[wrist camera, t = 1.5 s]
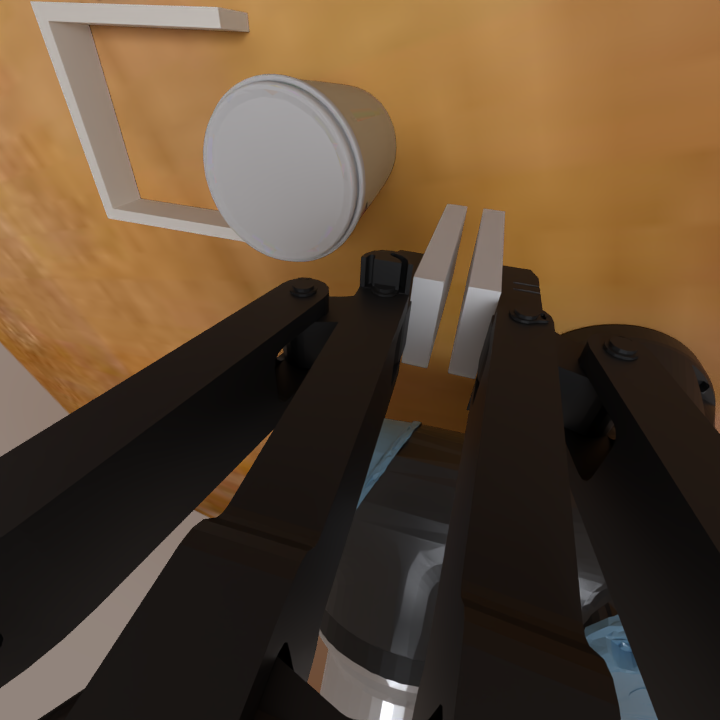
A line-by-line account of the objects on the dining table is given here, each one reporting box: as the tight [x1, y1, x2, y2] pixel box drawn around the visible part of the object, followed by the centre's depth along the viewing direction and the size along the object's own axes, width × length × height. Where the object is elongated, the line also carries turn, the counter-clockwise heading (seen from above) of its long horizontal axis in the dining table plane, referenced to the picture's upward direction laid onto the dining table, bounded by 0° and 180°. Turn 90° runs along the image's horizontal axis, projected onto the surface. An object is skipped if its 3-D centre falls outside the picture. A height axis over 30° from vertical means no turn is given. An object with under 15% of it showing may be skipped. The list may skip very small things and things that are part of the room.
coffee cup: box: [203, 74, 396, 262], centre depth 25 cm, size 9×9×12 cm
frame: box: [30, 1, 249, 242], centre depth 31 cm, size 15×15×4 cm
